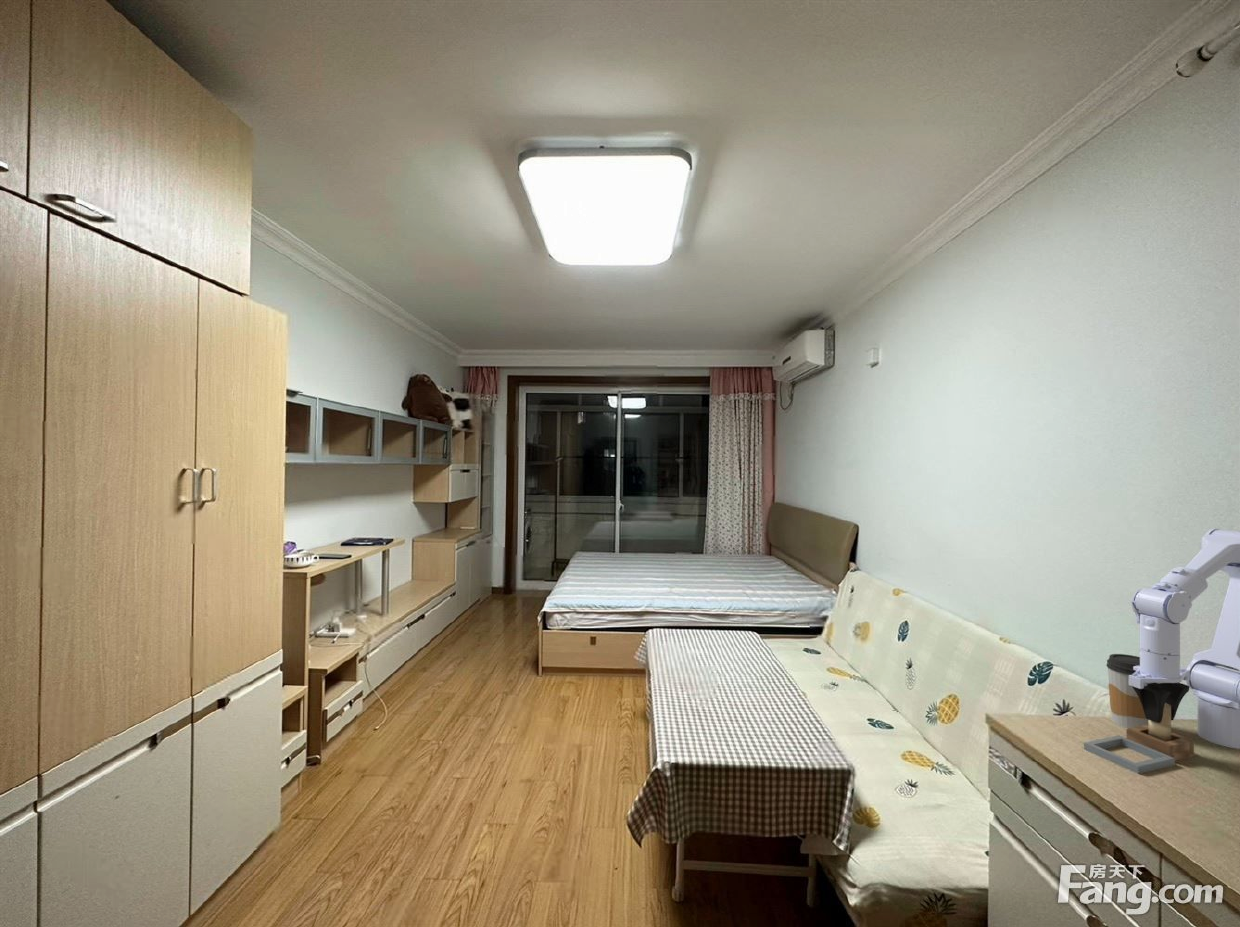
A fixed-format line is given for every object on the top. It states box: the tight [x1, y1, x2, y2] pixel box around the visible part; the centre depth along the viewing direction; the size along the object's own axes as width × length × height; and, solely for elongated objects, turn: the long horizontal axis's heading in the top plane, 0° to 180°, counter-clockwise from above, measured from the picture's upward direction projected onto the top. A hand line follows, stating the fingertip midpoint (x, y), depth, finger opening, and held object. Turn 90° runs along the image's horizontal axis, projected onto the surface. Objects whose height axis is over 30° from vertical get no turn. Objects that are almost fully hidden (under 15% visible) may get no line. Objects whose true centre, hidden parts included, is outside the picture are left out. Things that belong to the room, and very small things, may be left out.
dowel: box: [1148, 703, 1172, 742], centre depth 109 cm, size 3×3×7 cm
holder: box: [1126, 725, 1195, 762], centre depth 109 cm, size 7×7×4 cm
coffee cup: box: [1105, 653, 1148, 729], centre depth 119 cm, size 8×8×15 cm
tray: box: [1083, 735, 1176, 775], centre depth 106 cm, size 10×9×2 cm
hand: (1159, 719), depth 109 cm, fingers closed on dowel, 3 cm apart
